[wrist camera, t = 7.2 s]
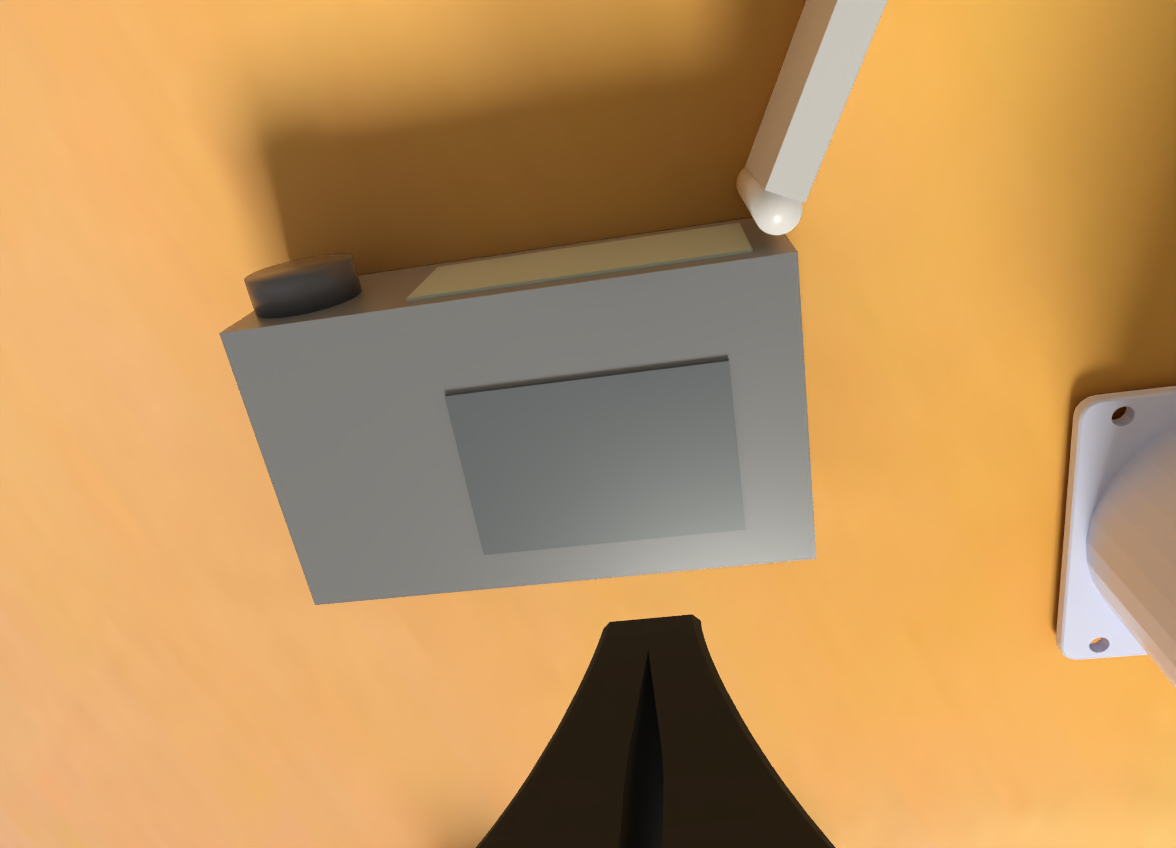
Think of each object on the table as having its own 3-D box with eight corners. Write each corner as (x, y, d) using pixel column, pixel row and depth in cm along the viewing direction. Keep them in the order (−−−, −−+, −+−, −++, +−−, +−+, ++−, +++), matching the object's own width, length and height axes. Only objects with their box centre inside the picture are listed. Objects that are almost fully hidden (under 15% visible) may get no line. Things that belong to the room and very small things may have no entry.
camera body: (768, 179, 19) (795, 211, 16) (790, 475, 22) (816, 561, 19) (284, 253, 21) (204, 298, 17) (367, 520, 24) (313, 607, 20)
